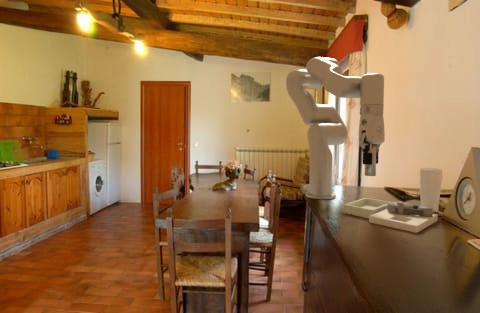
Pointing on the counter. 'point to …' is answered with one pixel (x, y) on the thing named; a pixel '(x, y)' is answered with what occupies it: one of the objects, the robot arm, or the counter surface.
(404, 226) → the pulley board
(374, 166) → the lock pin
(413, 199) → the counter surface
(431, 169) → the drinking glass
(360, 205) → the tray
